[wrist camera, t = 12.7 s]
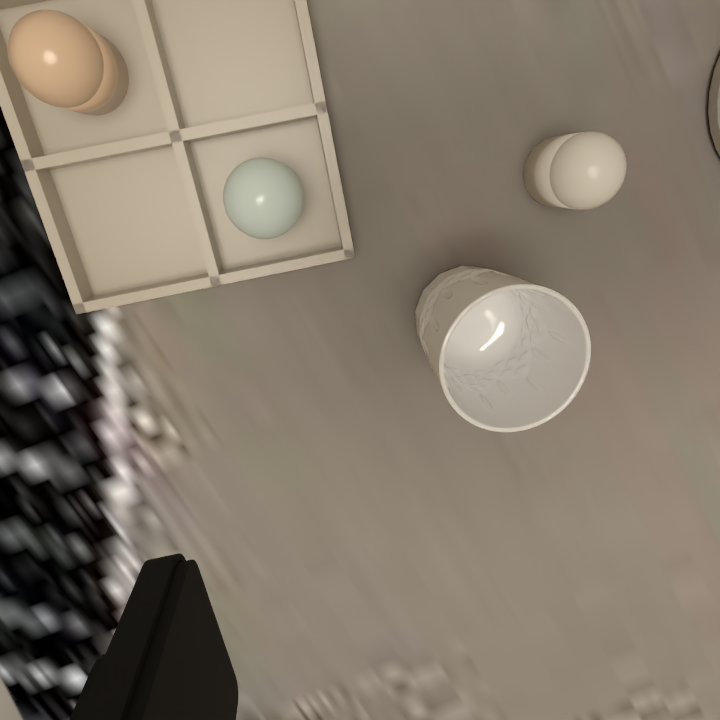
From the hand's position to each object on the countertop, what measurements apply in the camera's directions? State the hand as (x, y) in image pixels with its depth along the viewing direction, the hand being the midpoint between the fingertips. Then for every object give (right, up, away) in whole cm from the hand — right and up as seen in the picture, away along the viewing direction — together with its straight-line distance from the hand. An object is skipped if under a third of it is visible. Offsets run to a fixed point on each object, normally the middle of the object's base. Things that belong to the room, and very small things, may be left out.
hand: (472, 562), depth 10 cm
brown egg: (-17, +19, +21) cm, 33 cm away
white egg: (+10, +15, +26) cm, 32 cm away
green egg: (-7, +13, +24) cm, 29 cm away
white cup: (+5, +7, +28) cm, 30 cm away
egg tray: (-12, +16, +23) cm, 31 cm away
